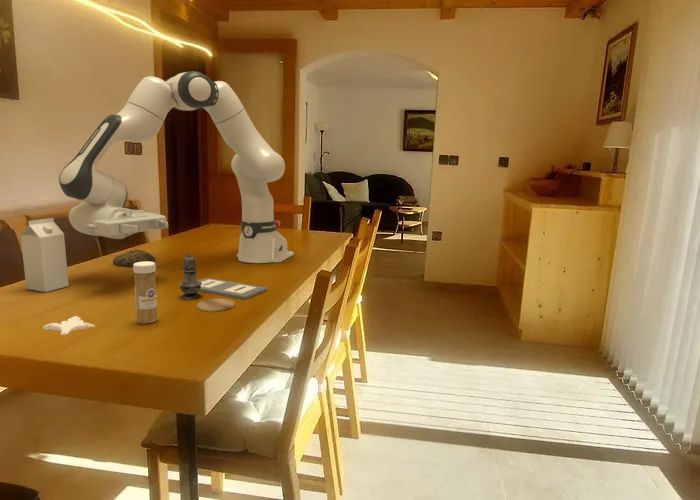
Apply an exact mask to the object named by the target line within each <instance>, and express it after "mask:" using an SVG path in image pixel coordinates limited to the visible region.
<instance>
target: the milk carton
mask: <svg viewBox="0 0 700 500" xmlns="http://www.w3.org/2000/svg"><path fill="white" fill-rule="evenodd" d="M27 223H28V225H27V226H26V228H25V229H24V231H22V232H21V234H20V240H21V241H20V243H21V252H22V261H23V269H24V271H23V272H24V279H25V288H26V290H30V291H36V292H42V293H48V292H52V291H56V290H58V289H62V288H66V287H69V285H70V284H69V275H68V273H69V272H68V263H67V255H66V253H67V252H66V251H67V250H66V242H65V234H64V233H65V232H63V230H62V229H61V228H60V227H59V226H58V225H57V224H56V222H55V219H54V217H51V218H50V217H49V218H43V219H42V218H41V219H35V220H28V221H27Z"/></svg>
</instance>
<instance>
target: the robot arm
mask: <svg viewBox="0 0 700 500" xmlns="http://www.w3.org/2000/svg"><path fill="white" fill-rule="evenodd" d="M172 109H173V110H175V111H180V112H183V111H188V112H189V111H195V110H197V109H204V110H205V111H206V112H207V113H208V114H209V116H210V118H211V120H212V122H213V123H214V126H215V127H216V128H217V131H218V132H219V133H220V135H221V137H222V139H223V140H224V142H225V144H226V145H227V146H228V147H229V148H231V149H232V150H233V151H234V152H235V155H234V156H233V158H232V159H231V165H230V166H231V170H232V172H233V173H234V175H235V177H236V180H237V184H238V189H239V192H240V197H241V198H240V199H241V215H242V216H241V221H240V231H241V233H240V235H239V244H238V253H237V254H236V258H237V259H238V261H239V262H242V263H248V264H268V263H281V262H283V261H285V260H286V259H289V258H291V257H292V256H294V255H295V253H294V251H290V250H288V240H287V239H286V237H284V235H282V234H281V233H280V232H279V231H277V227H280V226H281V221H280V220H275V218H274V217H275V216H274V208H275V207H274V206H275V204H274V198H273V196H272V194H271V192H270V189H269V187H268V183H272V182H273V183H274V182H275V181H278V180H280V179H281V178H282V177H283V175H284V174H285V170H286V163H285V160H284V158H283V157H282V156H281V154H279V153H278V152H276V150H274V149H273V148H272V147H271V146H270V145H269V143H268V142H267V141H266V139H264V137H263V136H262V135H261V134H260V132H259V130H257V129H256V127H255V125H254V123H253V122H252V120H251V118H250V116H249V114H248V112H247V111H246V109H245V107H244V105H243V103H242V102H241V100H240V98H239V97H238V95H237V94H236V92H235V91H234V90H233V89H232V87H231V86H230V85H229V84H228V83H227V82H225V81H223V80H217V81H213V80H211V79H210V77H208V76H207V75H206V74H204V73H202V72H200V71H195V70H194V71H193V70H192V71H191V70H190V71H185V72H180V73H178V74H176V75H175V76H171V77H169V78H167V79H166V80H164V79H162V78H160V77H157V76H153V75H149V76H145V77H144V78H142V79H141V80H140V82H138V84H137V85H136V87H135V88H134V90H133V91H132V93H131V94H130V95H129V97H128V99H127V101H126V102H125V105H124V106H123V107H122V109H121V110H120V111H118V112H117V113H116V114H110V115H107V117H105V118H104V119H103V120H102V121H101V122H100V124H99V125H98V126H97V128H95V130H94V131H93V132H92V133H91V135H90V137H89V138H88V139H87V140H86V142H85V143H84V144H83V145H82V147H81V149H80V150H79V151H78V152H77V153H76V155H75V157H73V159H72V160H71V161H69V163H67V164H66V165H65V166H64V167H63V169H62V170H61V172H60V173H59V176H58V183H59V185H60V189H61V191H62V192H63V193H64V195H65V196H67V197H70V198H73V199H76V200H79V201H82V202H81V203H80V204H77V205H75V206H73V207H72V208H71V209H70V211H69V213H68V221H69V223H70V224H71V226H72V228H74V229H75V230H76V231H78V232H80V233H81V234H85V235H88V236H89V235H90V236H96V237H105V238H110V239H116V240H123V239H125V238H127V237H129V236H131V235H133V234H138V233H141V232H149V231H155V230H164V229H165V230H166V229H168V228H169V223H168V221H167V217H166V216H165V215H164V214H163V215H162V214H159V213H153V212H148V211H147V212H146V211H145V210H144V209H134V208H133V209H131V208H126V205H127V201H128V197H129V196H128V195H129V194H128V189H127V188H128V187H127V185H126V184H125V182H124V181H122V180H121V179H119V178H116V177H114V176H112V175H110V174H108V173H105V172H103V171H100V170H99V169H97V165H98V164H99V162H100V161H101V160H102V158H103V157H104V156H105V154H106V153H107V151H108V150H109V148H110V147H111V146H112V145H113V144H115V143H116V142H118V141H132V142H146V141H149V140H152V139H154V138H155V137H156V136H157V135H158V133H159V132H160V130H161V128H162V127H163V123H164V121H165V119H166V117H167V115H168V113H169V112H170V111H171V110H172Z"/></svg>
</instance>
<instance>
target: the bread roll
mask: <svg viewBox="0 0 700 500" xmlns="http://www.w3.org/2000/svg"><path fill="white" fill-rule="evenodd" d="M145 261H149V262H154V263H155V264H156V262H157V261H156V257H155V256H154V255H153V254H151V253H149V252H148V251H146V250H141V249H137V248H136V249H133V250H130V251H127V252H126V253H122V254H120V255H116V256H115V257H114V258H113V259H112V263H113V264H114V265H116V266H120V267H125V268H133V264H134V263H137V262H145Z"/></svg>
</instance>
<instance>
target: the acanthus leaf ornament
mask: <svg viewBox="0 0 700 500" xmlns="http://www.w3.org/2000/svg"><path fill="white" fill-rule="evenodd" d="M94 327H96V325H95V324H92V323H89V322H84V320H82V318H81V317H79V316H77V315H75V316H73V317H70V318H68V319H67V320H62V321H61V322H60V323H58V322H50V323H47V324H45V325H43V327H42V329H43V330H48V331H58V332H60V334H59V335H61V336H64V335H68V334H69V333H70V332H73V331H77V330H78V331H79V330H85V329H88V328H94Z"/></svg>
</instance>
